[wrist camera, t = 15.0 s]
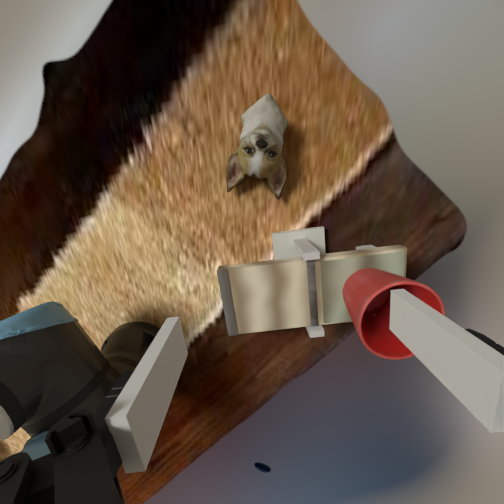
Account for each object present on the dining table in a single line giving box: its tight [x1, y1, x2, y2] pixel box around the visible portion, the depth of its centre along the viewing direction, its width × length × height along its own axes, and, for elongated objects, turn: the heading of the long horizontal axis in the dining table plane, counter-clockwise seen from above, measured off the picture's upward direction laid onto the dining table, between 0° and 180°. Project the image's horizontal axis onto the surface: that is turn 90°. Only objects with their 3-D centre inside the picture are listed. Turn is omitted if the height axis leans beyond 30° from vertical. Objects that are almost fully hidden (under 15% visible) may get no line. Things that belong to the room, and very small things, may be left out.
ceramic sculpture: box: [226, 93, 288, 200], centre depth 39 cm, size 11×9×15 cm
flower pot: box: [342, 268, 445, 360], centre depth 34 cm, size 11×11×10 cm
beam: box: [217, 245, 407, 336], centre depth 40 cm, size 30×12×3 cm, turn 97°
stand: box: [271, 226, 377, 338], centre depth 43 cm, size 20×18×11 cm
